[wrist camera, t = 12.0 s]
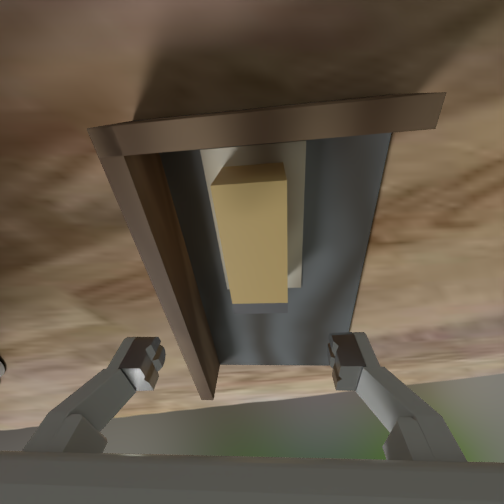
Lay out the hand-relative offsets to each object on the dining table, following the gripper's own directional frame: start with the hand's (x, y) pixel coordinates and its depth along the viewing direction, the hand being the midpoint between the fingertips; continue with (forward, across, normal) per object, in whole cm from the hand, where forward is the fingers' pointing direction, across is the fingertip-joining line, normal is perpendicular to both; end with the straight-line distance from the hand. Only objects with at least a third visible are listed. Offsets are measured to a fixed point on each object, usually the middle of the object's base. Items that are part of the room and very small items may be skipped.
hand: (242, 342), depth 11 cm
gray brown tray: (+12, -1, +6) cm, 13 cm away
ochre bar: (+11, -1, 0) cm, 11 cm away
